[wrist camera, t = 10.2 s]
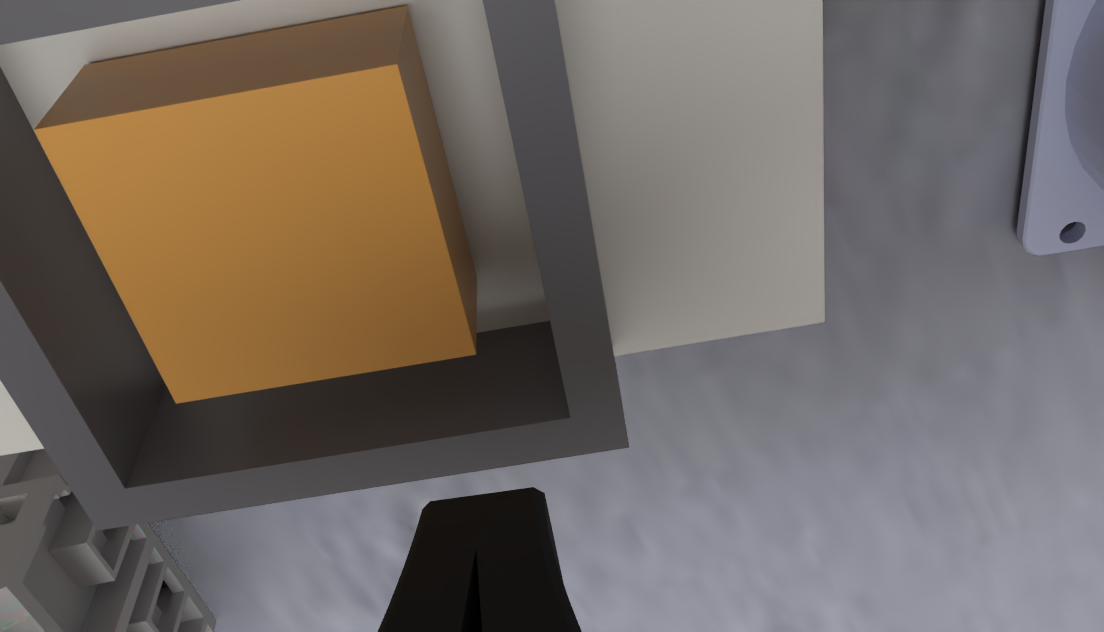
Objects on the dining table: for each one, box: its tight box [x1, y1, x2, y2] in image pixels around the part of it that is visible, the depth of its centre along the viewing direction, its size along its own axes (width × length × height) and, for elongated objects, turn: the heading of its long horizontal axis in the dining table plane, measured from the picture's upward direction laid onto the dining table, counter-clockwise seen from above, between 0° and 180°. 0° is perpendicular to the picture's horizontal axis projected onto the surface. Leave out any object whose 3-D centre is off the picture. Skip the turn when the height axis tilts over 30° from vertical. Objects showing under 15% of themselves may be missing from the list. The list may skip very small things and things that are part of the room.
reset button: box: [34, 6, 477, 404], centre depth 15 cm, size 5×5×2 cm
